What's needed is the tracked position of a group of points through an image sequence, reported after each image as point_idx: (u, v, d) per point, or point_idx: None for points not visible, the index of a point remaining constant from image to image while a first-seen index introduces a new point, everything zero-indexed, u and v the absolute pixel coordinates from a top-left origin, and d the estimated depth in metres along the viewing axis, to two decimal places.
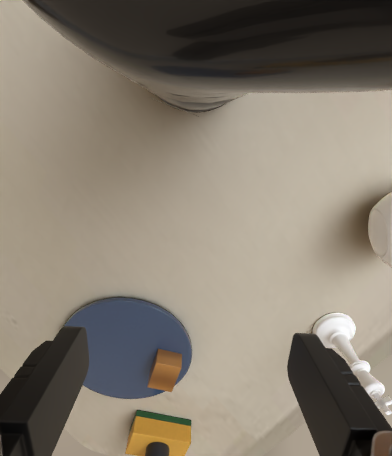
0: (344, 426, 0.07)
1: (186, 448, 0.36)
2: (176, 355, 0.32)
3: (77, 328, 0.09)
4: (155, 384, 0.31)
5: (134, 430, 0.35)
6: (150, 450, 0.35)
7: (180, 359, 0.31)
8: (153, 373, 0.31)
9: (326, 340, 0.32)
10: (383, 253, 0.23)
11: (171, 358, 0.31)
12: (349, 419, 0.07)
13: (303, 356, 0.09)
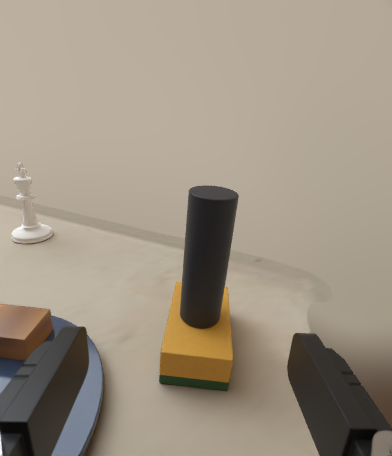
0: (344, 426, 0.07)
1: None
2: None
3: (77, 328, 0.09)
4: (21, 329, 0.18)
5: (161, 353, 0.18)
6: (185, 313, 0.20)
7: None
8: None
9: (35, 231, 0.36)
10: None
11: None
12: (349, 419, 0.07)
13: (303, 356, 0.09)
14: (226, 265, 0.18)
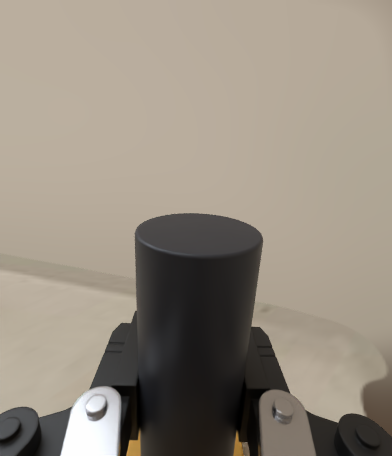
0: (245, 387, 0.08)
1: None
2: None
3: None
4: None
5: None
6: None
7: None
8: None
9: None
10: None
11: None
12: (249, 381, 0.08)
13: None
14: (239, 398, 0.08)
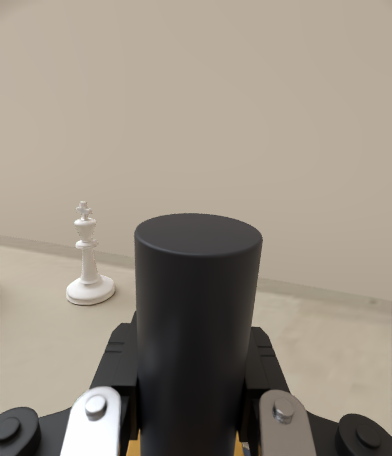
0: (245, 387, 0.08)
1: None
2: None
3: None
4: None
5: None
6: None
7: None
8: None
9: (97, 287, 0.28)
10: None
11: None
12: (249, 381, 0.08)
13: None
14: (240, 399, 0.08)
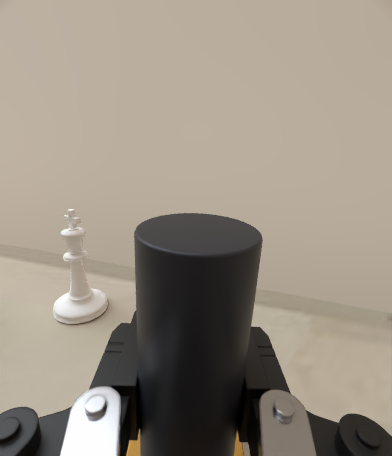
0: (245, 388, 0.08)
1: None
2: None
3: None
4: None
5: None
6: None
7: None
8: None
9: (88, 303, 0.25)
10: None
11: None
12: (249, 381, 0.08)
13: None
14: (240, 399, 0.08)
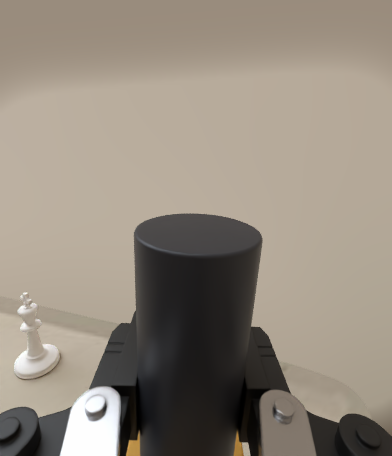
0: (245, 387, 0.08)
1: None
2: None
3: None
4: None
5: None
6: None
7: None
8: None
9: (41, 360, 0.32)
10: None
11: None
12: (249, 381, 0.08)
13: None
14: (239, 400, 0.08)
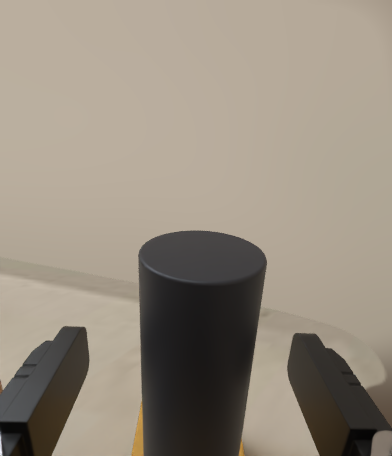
0: (344, 426, 0.07)
1: None
2: None
3: (77, 328, 0.09)
4: None
5: None
6: None
7: None
8: None
9: None
10: None
11: None
12: (349, 419, 0.07)
13: (303, 356, 0.09)
14: (243, 417, 0.08)
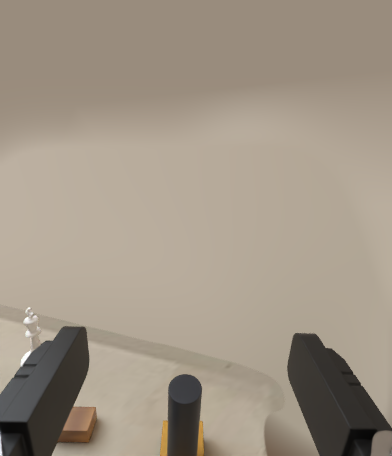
0: (344, 426, 0.07)
1: None
2: None
3: (77, 328, 0.09)
4: (83, 424, 0.32)
5: None
6: None
7: None
8: (66, 429, 0.32)
9: None
10: None
11: None
12: (349, 419, 0.07)
13: (303, 356, 0.09)
14: (197, 431, 0.26)
